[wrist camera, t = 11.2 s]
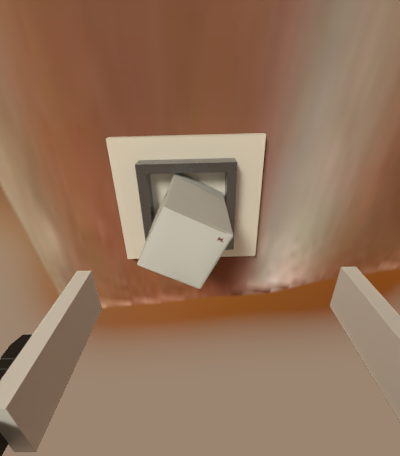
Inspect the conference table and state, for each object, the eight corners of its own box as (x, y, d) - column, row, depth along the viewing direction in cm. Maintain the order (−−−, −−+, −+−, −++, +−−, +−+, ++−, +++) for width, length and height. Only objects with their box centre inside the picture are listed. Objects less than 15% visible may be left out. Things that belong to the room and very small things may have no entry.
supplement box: (175, 168, 33) (163, 203, 22) (224, 192, 35) (237, 236, 24) (154, 214, 36) (134, 265, 25) (200, 234, 38) (201, 291, 27)
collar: (139, 160, 33) (134, 164, 31) (234, 157, 33) (237, 162, 30) (149, 242, 38) (147, 251, 36) (231, 240, 38) (233, 249, 36)
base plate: (108, 137, 33) (105, 138, 32) (263, 133, 32) (266, 134, 31) (129, 254, 41) (127, 258, 40) (253, 251, 41) (255, 255, 40)
